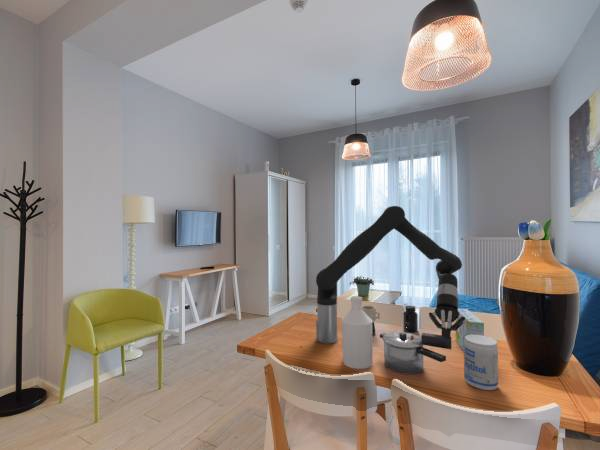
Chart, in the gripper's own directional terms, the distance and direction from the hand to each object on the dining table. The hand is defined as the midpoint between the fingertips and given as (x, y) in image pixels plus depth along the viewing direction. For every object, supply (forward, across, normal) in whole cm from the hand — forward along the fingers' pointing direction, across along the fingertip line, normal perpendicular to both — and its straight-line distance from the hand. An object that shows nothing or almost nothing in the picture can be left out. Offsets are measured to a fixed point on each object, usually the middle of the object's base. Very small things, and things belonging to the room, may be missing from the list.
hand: (445, 339), depth 105 cm
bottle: (+14, -31, +3) cm, 34 cm away
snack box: (-9, +7, +26) cm, 29 cm away
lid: (+3, -10, 0) cm, 11 cm away
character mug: (-9, -36, +26) cm, 45 cm away
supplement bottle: (-19, -19, +36) cm, 45 cm away
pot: (+11, -12, +6) cm, 17 cm away
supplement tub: (+11, +10, +6) cm, 16 cm away
